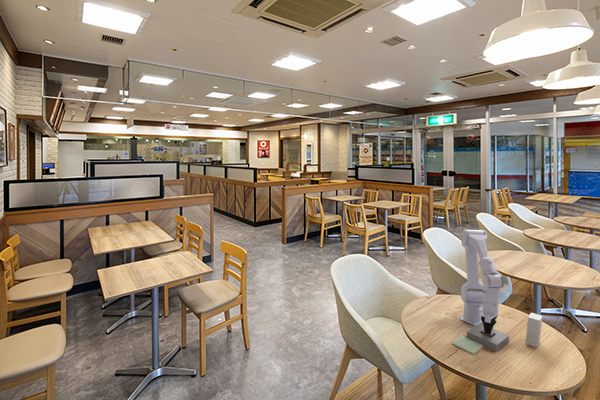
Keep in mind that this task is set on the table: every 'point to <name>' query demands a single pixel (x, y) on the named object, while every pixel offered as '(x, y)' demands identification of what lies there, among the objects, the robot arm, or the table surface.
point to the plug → (488, 334)
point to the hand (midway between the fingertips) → (488, 331)
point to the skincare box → (533, 329)
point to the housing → (488, 338)
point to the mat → (467, 344)
